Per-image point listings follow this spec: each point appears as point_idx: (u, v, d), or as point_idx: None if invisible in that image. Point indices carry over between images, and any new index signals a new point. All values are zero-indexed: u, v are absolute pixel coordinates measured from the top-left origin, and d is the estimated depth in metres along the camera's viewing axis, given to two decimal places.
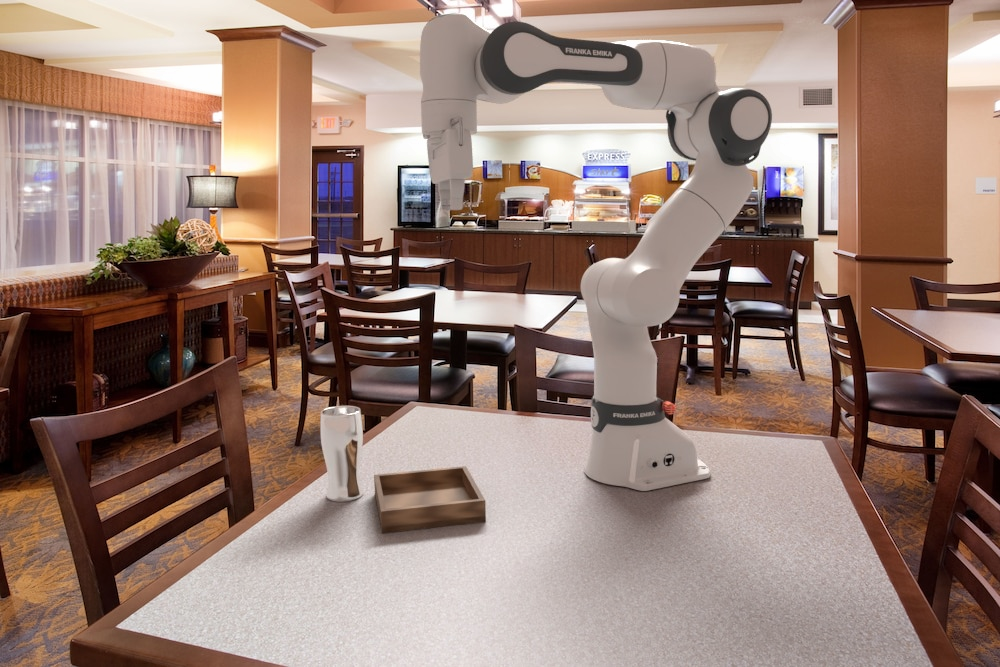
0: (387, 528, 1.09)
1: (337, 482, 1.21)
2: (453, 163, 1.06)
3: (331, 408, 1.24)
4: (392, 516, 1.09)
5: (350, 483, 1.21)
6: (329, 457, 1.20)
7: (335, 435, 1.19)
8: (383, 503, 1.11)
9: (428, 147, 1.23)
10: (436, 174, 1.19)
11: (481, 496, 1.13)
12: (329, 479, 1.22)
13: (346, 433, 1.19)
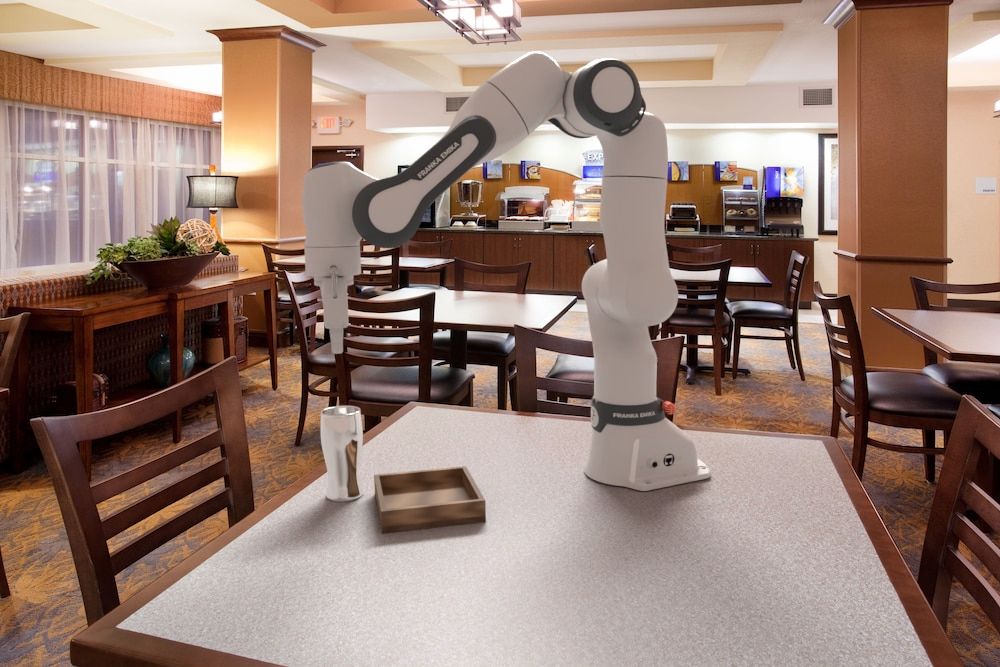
0: (387, 528, 1.09)
1: (337, 482, 1.21)
2: (327, 316, 1.09)
3: (331, 408, 1.24)
4: (392, 516, 1.09)
5: (350, 483, 1.21)
6: (329, 457, 1.20)
7: (335, 435, 1.19)
8: (383, 503, 1.11)
9: None
10: None
11: (481, 496, 1.13)
12: (329, 479, 1.22)
13: (346, 433, 1.19)
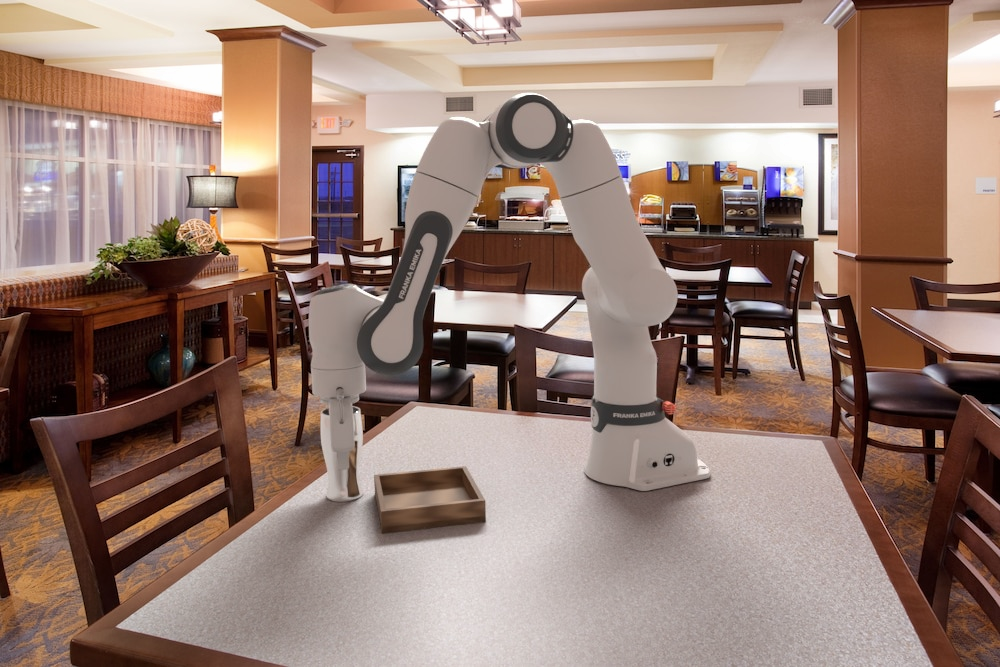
0: (387, 528, 1.09)
1: (337, 482, 1.21)
2: (334, 441, 1.12)
3: None
4: (392, 516, 1.09)
5: (350, 483, 1.21)
6: (329, 457, 1.20)
7: None
8: (383, 503, 1.11)
9: None
10: None
11: (481, 496, 1.13)
12: (329, 479, 1.22)
13: None
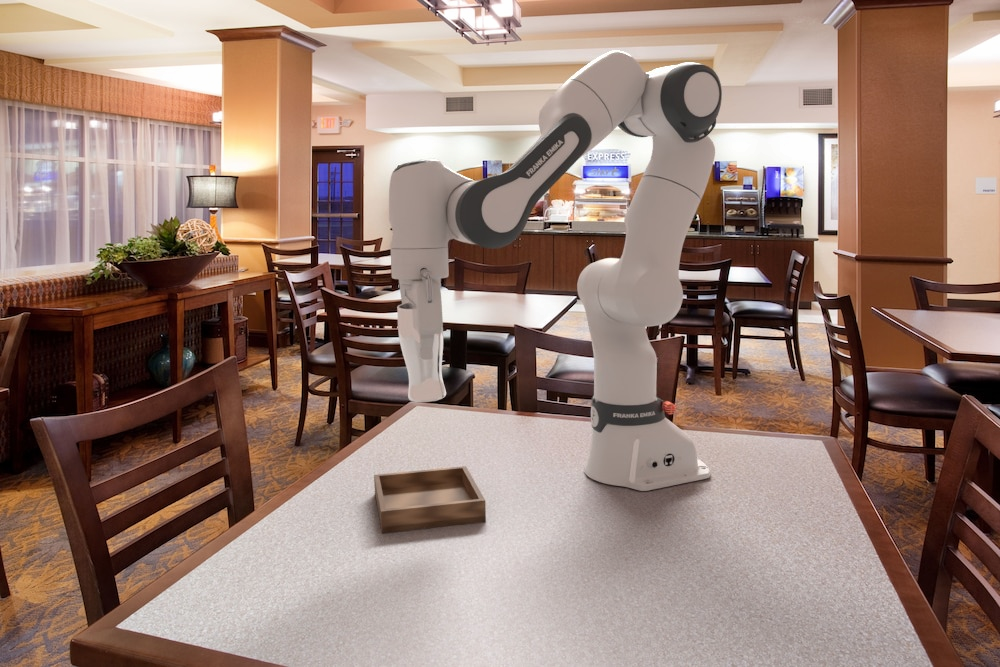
0: (387, 528, 1.09)
1: (420, 381, 1.12)
2: (421, 321, 1.03)
3: (406, 304, 1.14)
4: (392, 516, 1.09)
5: (434, 382, 1.13)
6: (410, 355, 1.11)
7: None
8: (383, 503, 1.11)
9: (400, 283, 1.19)
10: None
11: (481, 496, 1.13)
12: (410, 379, 1.13)
13: None
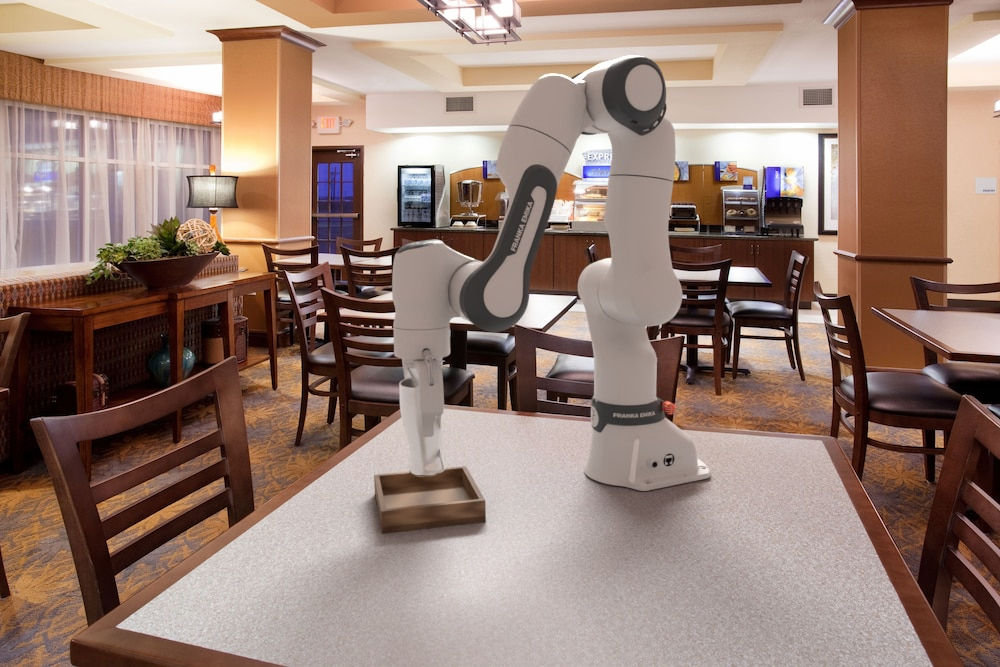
0: (387, 528, 1.09)
1: (421, 456, 1.14)
2: (423, 404, 1.05)
3: (408, 379, 1.16)
4: (392, 516, 1.09)
5: (434, 457, 1.15)
6: (411, 431, 1.13)
7: None
8: (383, 503, 1.11)
9: None
10: None
11: (481, 496, 1.13)
12: (411, 454, 1.15)
13: None
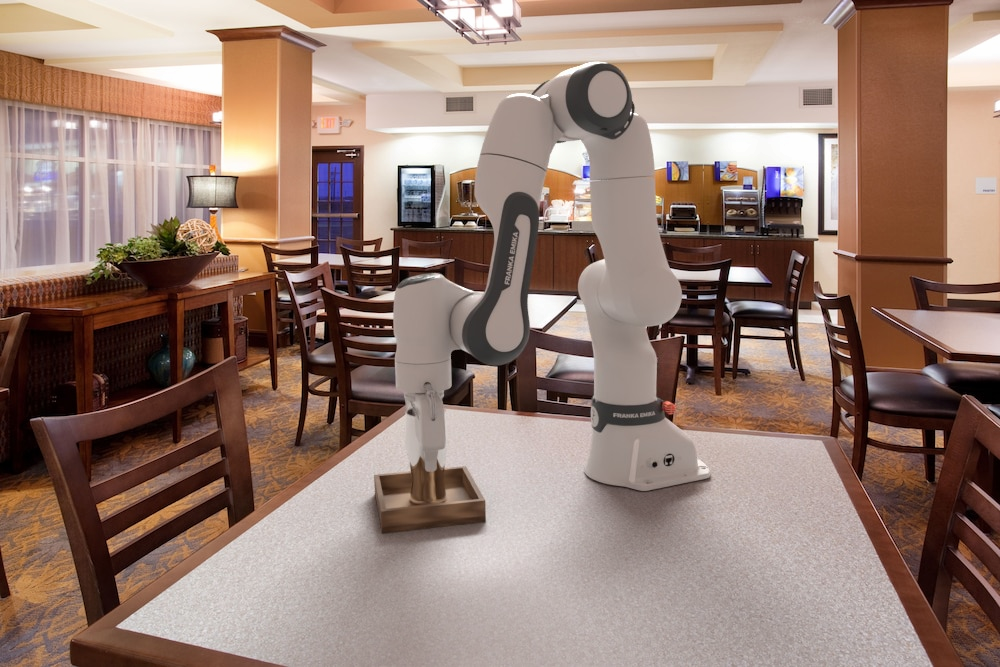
0: (387, 528, 1.09)
1: (423, 485, 1.16)
2: (425, 439, 1.06)
3: None
4: (392, 516, 1.09)
5: (436, 486, 1.16)
6: (415, 460, 1.15)
7: None
8: (383, 503, 1.11)
9: None
10: None
11: (481, 496, 1.13)
12: (413, 482, 1.17)
13: None
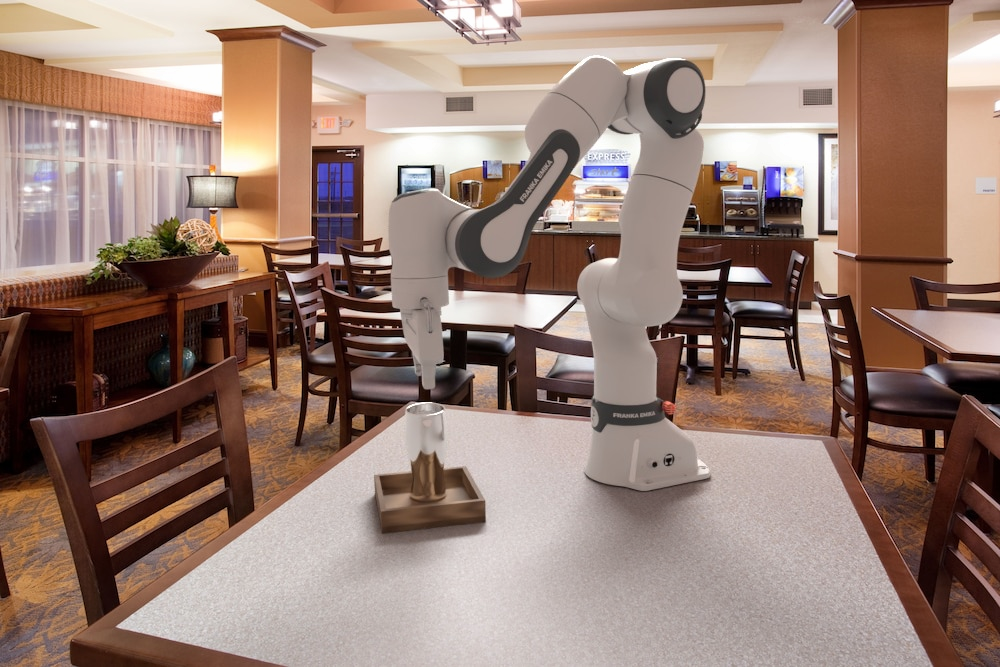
0: (387, 528, 1.09)
1: (423, 482, 1.17)
2: (422, 351, 1.04)
3: (414, 405, 1.19)
4: (392, 516, 1.09)
5: (436, 483, 1.18)
6: (415, 457, 1.16)
7: (423, 435, 1.15)
8: (383, 503, 1.11)
9: (401, 309, 1.20)
10: (409, 342, 1.16)
11: (481, 496, 1.13)
12: (413, 478, 1.18)
13: (433, 433, 1.15)
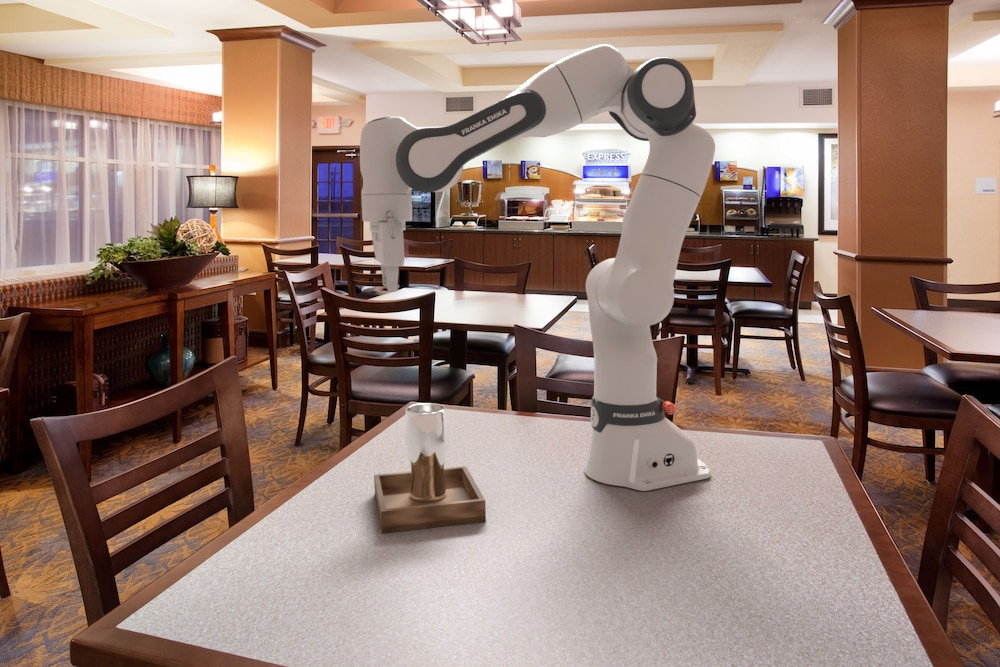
0: (387, 528, 1.09)
1: (423, 482, 1.18)
2: (386, 254, 1.20)
3: (414, 406, 1.20)
4: (392, 516, 1.09)
5: (436, 482, 1.18)
6: (415, 456, 1.17)
7: (423, 433, 1.15)
8: (383, 503, 1.11)
9: None
10: (377, 255, 1.33)
11: (481, 496, 1.13)
12: (413, 478, 1.19)
13: (433, 431, 1.16)
